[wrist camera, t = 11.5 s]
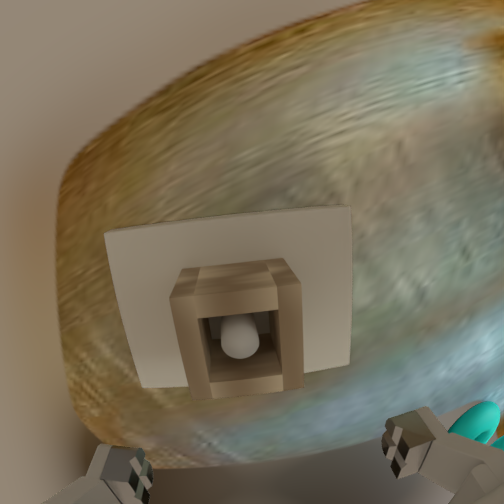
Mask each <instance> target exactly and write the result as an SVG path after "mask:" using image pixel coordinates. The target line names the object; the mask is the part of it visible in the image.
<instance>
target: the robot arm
mask: <svg viewBox="0 0 504 504" xmlns="http://www.w3.org/2000/svg"><path fill="white" fill-rule="evenodd" d="M385 427H386V429H387V430H386V432H385V433H384V434H383V435H382V440H381V442H382V450H383V453H384V455H385V457H386V458H387V459H389V460H392V463H391V469H392V471H393V473H394V475H395V476H396V479H400V478H403V477H406V476H409V475H412V474H415V473H417V472H419V474H421V475H422V476H424V477H426V478H427V479H429V480H431V481H433V482H434V483H436V484H438V485H440V486H441V487H443V488H445V489H447V490H448V491H450V492H452V493H454V494H455V495H454V497H453V498H452V499H451V501H450V502H449V503H448V504H504V451H503V450H501V449H498V448H495V447H492V446H489V445H486V444H483V443H480V442H477V441H474V440H472V439H469V438H466V437H463V436H461V435H458V434H455V433H448V432H447V431H446V429H445V428H444V427H443V425H442V424H441V423H440V421H439V420H438V419H437V418H436V416H435V415H434V414H433V412H432V411H431V410H430V409H429V407H427V406H425V407H422V408H419V409H416V410H414V411H410V412H407V413H404V414H401V415H398V416H395V417H391V418H388V419H387V421H386V424H385ZM144 458H145V453H144V451H143V449H142V448H135V447H125V446H116V445H107V444H100V445H99V446H98V447H97V449H96V452H95V454H94V457H93V459H92V462H91V464H90V467H89V469H88V472H87V474H86V477H83V476H82V477H80V478H79V479H77V480H76V481H75V482H73V483H72V484H70V485H69V486H67V487H66V488H65V489H63V490H61V491H60V492H58V493H57V494H55V495H54V496H52V497H51V498H49V499H48V500H46V501H45V502H43V503H42V504H149V499H150V494H149V493H148V491H147V489H149V487H151V486H152V483H153V470H152V466H151V464H150V462H149V461H147V460H146V459H144Z"/></svg>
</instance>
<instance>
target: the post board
mask: <svg viewBox="0 0 504 504" xmlns="http://www.w3.org/2000/svg"><path fill="white" fill-rule="evenodd" d="M104 238H105V244H106V250H107V255H108V260H109V265H110V270H111V275H112V280H113V284H114V289H115V293H116V298H117V302H118V306H119V310H120V314H121V318H122V322H123V326H124V329H125V333H126V337H127V340H128V344H129V347H130V350H131V354H132V357H133V360H134V364H135V367H136V370H137V373H138V376H139V379H140V382H141V385H142V388H163V387H185V386H188V382H187V378H186V374H185V370H184V366H183V362H182V357H181V353H180V349H179V344H178V340H177V335H176V331H175V326H174V321H173V316H172V311H171V306H170V301H169V297H170V295H171V292H172V290H173V288H174V286H175V283H176V281H177V279H178V277H179V274H180V272H181V270H182V269H185V268H195V267H204V266H213V265H222V264H231V263H240V262H249V261H258V260H267V259H276V258H283V259H284V260H285V261H286V263H287V264H288V266H289V267H290V268H291V270H292V271H293V272H294V274H295V275H296V277H297V278H298V280H299V281H300V282H301V287H302V312H303V348H304V373H307V372H313V371H318V370H324V369H329V368H334V367H339V366H344V365H348V364H349V360H350V344H351V323H352V285H353V253H352V214H351V206H348V205H344V204H340V205H327V206H315V207H303V208H291V209H280V210H270V211H259V212H249V213H240V214H230V215H221V216H212V217H203V218H195V219H187V220H178V221H170V222H162V223H155V224H147V225H140V226H132V227H125V228H118V229H111V230H109V231H107V232H105V233H104ZM208 319H209V325H210V331H211V337H212V339H221V346H222V349H223V350H224V352H225V353H226V354H227V355H228V356H230V357H233V358H237V359H243V358H247V357H250V356H251V355H253V354H254V353H255V352H256V351H257V349H258V347H259V337H258V334H265V333H270V325H269V313H268V311H262V312H254V313H245V314H236V315H227V316H218V317H208Z"/></svg>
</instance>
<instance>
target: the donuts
mask: <svg viewBox="0 0 504 504" xmlns="http://www.w3.org/2000/svg"><path fill="white" fill-rule="evenodd" d="M499 420H500V410H499V407H498V405H497V404H495V403H494V402H490V401H486V402H482V403H479V404H477V405H475V406H474V407H472V408H470V409H469V410H468V411H467V412H465V413H464V414H463V415H462V416H461V417H460V418H459V419H458V420H457V421H456V422H455V423H454V424H453V425H452V426H451V427H450V429H449V430H448V433H455V434H458V435H461V436H463V437H466V438H469V439H472V440H474V441H477V442H480V443H483V444H486V443H487V441H488V440H489V439H490V438H491V436H492V435H493V434H494V432H495V430H496V428H497V426H498V423H499ZM490 446H492V447H495V448H498V449H501V450H503V451H504V436H502V437H500V438H499V439H498V440H496V441H495V442H494V443H493V444H491V445H490Z"/></svg>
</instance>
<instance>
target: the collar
mask: <svg viewBox="0 0 504 504" xmlns="http://www.w3.org/2000/svg"><path fill="white" fill-rule="evenodd" d="M169 301H170V306H171V311H172V316H173V321H174V326H175V331H176V335H177V340H178V344H179V349H180V353H181V357H182V362H183V366H184V370H185V374H186V378H187V382H188V386H189V390H190V394H191V398H192V400H205V399H218V398H229V397H239V396H248V395H256V394H264V393H272V392H279V391H285V390H292V389H298V388H303V387H304V348H303V312H302V287H301V282H300V281H299V280H298V278H297V277H296V275H295V274H294V272H293V271H292V270H291V268H290V267H289V266H288V264H287V263H286V261H285V260H284V259H283V258H276V259H267V260H258V261H249V262H240V263H231V264H222V265H213V266H204V267H195V268H185V269H182V270H181V272H180V274H179V277H178V279H177V281H176V283H175V286H174V288H173V290H172V292H171V295H170V297H169ZM262 311H268V313H269V325H270V333H265V334H258V337H259V347H258V349H257V351H256V352H255V353H254V354H253V355H251V356H250V357H247V358H243V359H237V358H233V357H230V356H228V355H227V354H226V353H225V352H224V350H223V349H222V346H221V339H212V337H211V331H210V325H209V319H208V317H218V316H227V315H236V314H245V313H254V312H262Z"/></svg>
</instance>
